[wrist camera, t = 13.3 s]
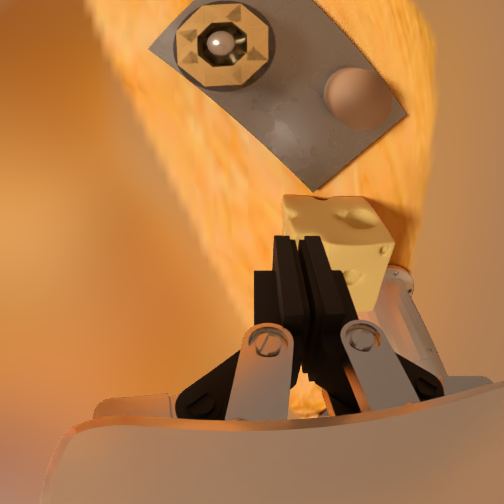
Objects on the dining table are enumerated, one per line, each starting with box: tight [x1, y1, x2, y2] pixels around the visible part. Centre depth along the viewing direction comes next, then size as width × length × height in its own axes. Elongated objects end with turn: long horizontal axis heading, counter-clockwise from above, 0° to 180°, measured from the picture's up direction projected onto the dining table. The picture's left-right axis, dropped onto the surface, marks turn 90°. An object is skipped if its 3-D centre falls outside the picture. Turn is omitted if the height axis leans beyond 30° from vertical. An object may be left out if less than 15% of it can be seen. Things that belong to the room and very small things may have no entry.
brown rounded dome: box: [324, 67, 392, 131], centre depth 25 cm, size 6×6×4 cm
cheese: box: [282, 195, 395, 312], centre depth 33 cm, size 10×11×10 cm
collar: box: [176, 4, 268, 87], centre depth 20 cm, size 7×7×4 cm
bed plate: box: [149, 0, 406, 192], centre depth 25 cm, size 23×14×1 cm, turn 46°
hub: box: [173, 1, 276, 92], centre depth 21 cm, size 9×9×7 cm
